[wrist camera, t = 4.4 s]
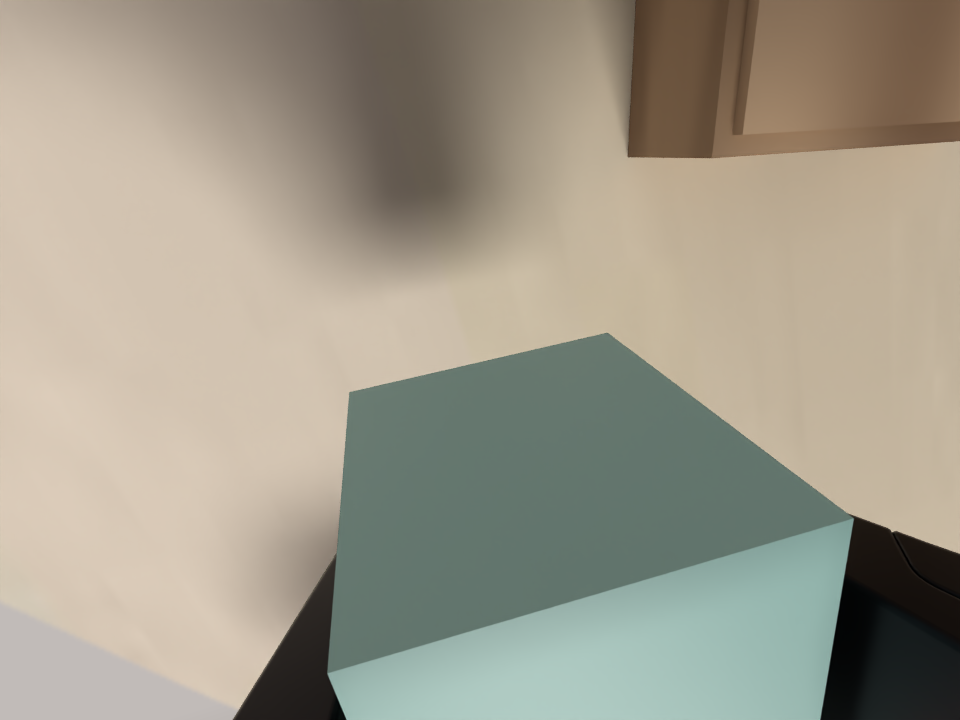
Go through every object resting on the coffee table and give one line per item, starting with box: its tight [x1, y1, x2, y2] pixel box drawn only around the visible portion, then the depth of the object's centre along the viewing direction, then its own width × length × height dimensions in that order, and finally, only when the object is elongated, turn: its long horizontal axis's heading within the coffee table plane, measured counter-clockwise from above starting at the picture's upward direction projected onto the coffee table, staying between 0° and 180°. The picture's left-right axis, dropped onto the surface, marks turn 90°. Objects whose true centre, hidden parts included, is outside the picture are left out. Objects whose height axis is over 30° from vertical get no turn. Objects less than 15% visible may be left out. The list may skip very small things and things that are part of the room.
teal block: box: [327, 333, 854, 720], centre depth 7 cm, size 4×4×5 cm
